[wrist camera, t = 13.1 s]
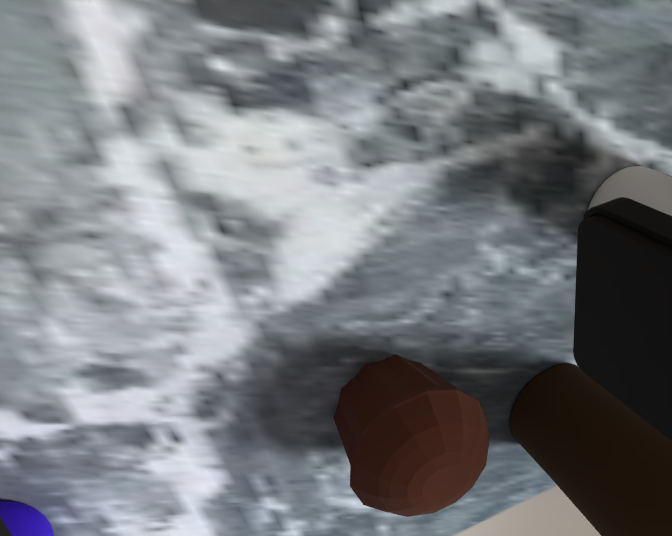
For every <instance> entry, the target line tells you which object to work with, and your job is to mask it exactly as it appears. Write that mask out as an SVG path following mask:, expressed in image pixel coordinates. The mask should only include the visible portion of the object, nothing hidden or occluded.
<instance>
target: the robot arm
mask: <svg viewBox="0 0 672 536" xmlns="http://www.w3.org/2000/svg"><path fill="white" fill-rule="evenodd" d="M573 352H574V358H575V361H576V363H577V365H578V366H579V368H580V369H581V370H582V371H583V372H584V373H585V374H586V375H587V376H589V377H590V378H591V379H592V380H594V381H595V382H596V383H598V384H599V385H600V386H601V387H603V388H604V389H605V390H607V391H608V392H609V393H611V394H612V395H613V396H614V397H616V398H617V399H618V400H620V401H621V402H622V403H623V404H625V405H626V406H627V407H629V408H630V409H631V410H632V411H634V412H635V413H636V414H638V415H639V416H640V417H641V418H643V419H644V420H645V421H647V422H648V423H649V424H650V425H652V426H653V427H654V428H656V429H657V430H658V431H660V432H661V433H662V434H663V435H665V436H666V437H667V438H669V439H670V440H671V441H672V216H670V215H668V214H666V213H663V212H661V211H658V210H656V209H654V208H651V207H649V206H646V205H644V204H642V203H639V202H637V201H634V200H632V199H630V198H625V197H620V198H616V199H613V200H611V201H608V202H605V203H603V204H600V205H597V206H594V207H592V208H590V209H589V210H587V212H586V213H585V215H584V219H583V221H582V222H581V223H580V225H579V228H578V245H577V271H576V296H575V322H574V348H573ZM0 536H12V534H11V533H10V531H9V529H8V528H7V526H6V525H5V523H4V522H3V520H2V518H1V517H0Z"/></svg>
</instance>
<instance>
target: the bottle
mask: <svg viewBox="0 0 672 536" xmlns="http://www.w3.org/2000/svg"><path fill="white" fill-rule="evenodd" d="M0 517H1V518H2V520H3V522H4V523H5V525H6V526H7V528H8V529H9V531H10V533H11V534H12V536H54V534H53V530H52V527H51V524H50V523H49V521H48V520H47V518H46V517H45V516H44V515H43V514H41V513H40V512H39V511H38V510H36V509H34V508H33V507H31V506H28V505H26V504H22V503H19V502H13V501H0Z"/></svg>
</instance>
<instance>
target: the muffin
mask: <svg viewBox="0 0 672 536" xmlns="http://www.w3.org/2000/svg"><path fill="white" fill-rule="evenodd" d="M334 420H335V423H336V426H337V429H338V431H339V434H340V437H341V440H342V442H343V445H344V448H345V451H346V454H347V456H348V459H349V462H350V465H351V470H350V487H351V488H352V489H353V491H354V492H355V494H356V495H357V496H358V498H359V499H360V500H361V502H362V503H363V505H366V506H369V507H372V508H375V509H378V510H382V511H385V512H390V513H394V514H397V515H402V516H407V517H408V516H415V515H422V514H429V513H434V512H437V511H439V510H441V509H443V508H445V507H447V506H449V505H451V504H453V503H455V502H456V501H458V500H459V499H460V498H461V497H462V496H463V495H464V494H465V493H467V492H468V491H469V490H470V489H471V488H472V487H473V486H474V484H475V482H476V481H477V479H478V477H479V476H480V474H481V472H482V471H483V469H484V467H485V466H486V461H487V453H488V446H489V436H490V435H489V429H488V420H487V418H486V416H485V413H484V411H483V409H482V407H481V405H480V402H479V401H478V400H476V399H475V398H473V397H471V396H469V395H467V394H465V393H463V392H461V391H459V390H458V389H456V388H455V387H454V386H452V385H451V384H449V383H448V382H447V381H445V380H444V379H442V378H441V377H440V376H438V375H437V374H435V373H434V372H433V371H431V370H430V369H428V368H427V367H426V366H424V365H423V364H421V363H418V362H413V361H409V360H406V359H404V358H402V357H400V356H398V355H395V356H392V357H390V358H387V359H385V360H382V361H379V362H374V363H370V364H366V365H365V366H364V367H363V368H362V369H361V370H360V371H359V373H358V374H357V375H356V376H355V377H354V378H353V379H352V380H351V381H350V382H348V383H347V384H346V385H345V386H344V387H343V388H342V389H341V392H340V398H339V404H338V407H337V409H336V412H335V415H334Z"/></svg>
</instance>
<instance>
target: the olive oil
mask: <svg viewBox="0 0 672 536" xmlns="http://www.w3.org/2000/svg"><path fill="white" fill-rule="evenodd" d="M510 429H511V432H512V434H513V436H514V437H515V439H516V440H517V441H518V442H519V443H520V445H521V446H522V447H523V448H524V449H525V450H526V451H527V452H528V453H529V454H530V455H531V457H532V458H533V459H534V460H535V461H536V462H537V463H538V464H539V465H540V466H541V467H542V469H543V470H544V471H545V472H546V473H547V474H548V475H549V476H550V477H551V479H552V480H553V481H554V482H555V483H556V484H557V485H558V486H559V488H560V489H561V490H562V491H563V492H564V493H565V494H566V496H567V497H568V498H569V499H570V500H571V501H572V502H573V504H574V505H575V506H576V507H577V508H578V509H579V510H580V511H581V513H582V514H583V515H584V516H585V517H586V518H587V520H588V521H589V522H590V523H591V524H592V525H593V526H594V527H595V529H596V530H597V531H598V532H599V533H600V535H601V536H672V441H671V440H670V439H669V438H667V437H666V436H665V435H663V434H662V433H661V432H660V431H658V430H657V429H656V428H654V427H653V426H652V425H650V424H649V423H648V422H647V421H645V420H644V419H643V418H641V417H640V416H639V415H638V414H636V413H635V412H634V411H632V410H631V409H630V408H629V407H627V406H626V405H625V404H623V403H622V402H621V401H620V400H618V399H617V398H616V397H614V396H613V395H612V394H611V393H609V392H608V391H607V390H605V389H604V388H603V387H601V386H600V385H599V384H598V383H596V382H595V381H594V380H592V379H591V378H590V377H589V376H587V375H586V374H585V373H584V372H583V371H582V370H581V369H580V368H579V367H578V366H576V365H571V364H564V365H558V366H555V367H552V368H550V369H548V370H546V371H544V372H542V373H541V374H539V375H538V376H536V377H535V378H534V379H533V380H532V381H531V382H530V383H529V384H528V385H527V386H526V387H525V388H524V389H523V391H522V392H521V393H520V395H519V396H518V398H517V400H516V402H515V404H514V406H513V409H512V412H511V417H510Z"/></svg>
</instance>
